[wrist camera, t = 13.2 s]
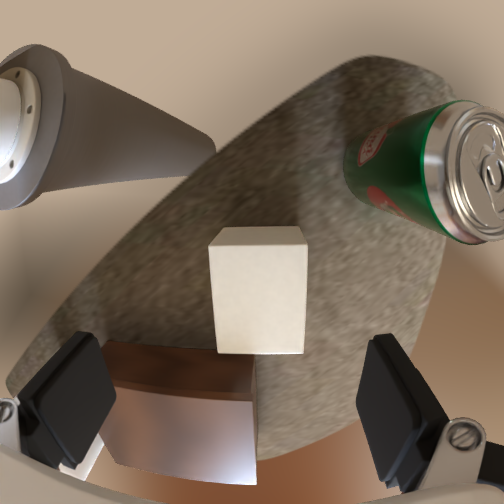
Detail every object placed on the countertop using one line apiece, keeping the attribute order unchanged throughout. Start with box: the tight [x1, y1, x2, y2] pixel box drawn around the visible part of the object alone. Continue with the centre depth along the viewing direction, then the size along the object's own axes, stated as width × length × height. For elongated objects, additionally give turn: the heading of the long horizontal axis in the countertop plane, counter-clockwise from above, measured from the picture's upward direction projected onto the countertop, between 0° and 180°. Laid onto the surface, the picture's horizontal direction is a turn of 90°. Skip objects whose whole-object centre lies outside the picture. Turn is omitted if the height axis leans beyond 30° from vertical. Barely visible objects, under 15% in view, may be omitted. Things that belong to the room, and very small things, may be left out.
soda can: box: [343, 100, 504, 245], centre depth 12 cm, size 5×5×12 cm
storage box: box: [98, 341, 258, 485], centre depth 21 cm, size 13×11×6 cm
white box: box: [208, 226, 308, 354], centre depth 18 cm, size 5×6×5 cm
